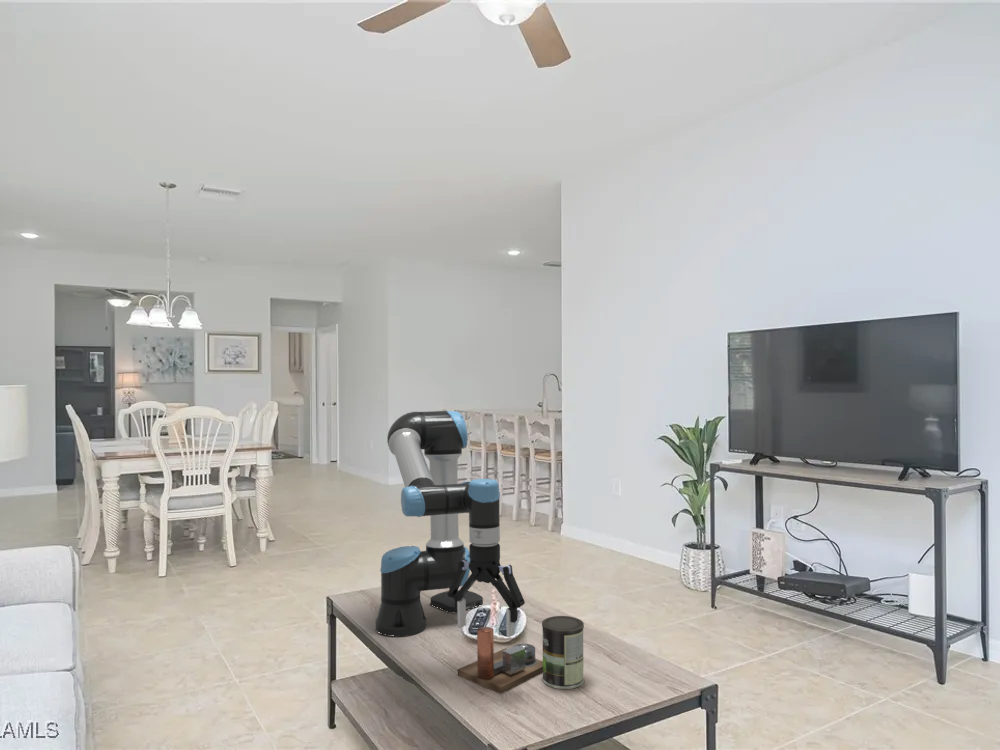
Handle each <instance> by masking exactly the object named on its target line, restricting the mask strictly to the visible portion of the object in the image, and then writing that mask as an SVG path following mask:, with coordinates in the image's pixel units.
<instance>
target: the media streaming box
mask: <svg viewBox="0 0 1000 750" xmlns="http://www.w3.org/2000/svg"><path fill="white" fill-rule="evenodd" d="M459 590H460V589H458V591H459ZM458 591H457V592H458ZM448 592H449V590H446V591H443V592H439V593H436V594H435V595H433V596H431V597H430V606H431V605H433V606H435V607H438V608H441V609H443V610H445V611H448V612H447V613H449V612H455V600H454V599H453V598H452V597H448V595H447V594H448ZM462 599H466V610H467V609H470V610H472V609H471V608H473V607H475V606H479V605H482V604H484V598H483V596H482V595H480V594H478V593H477V592H473V591H470V590H468V591H467V592H466V593H465V595H464V597H463V598H462ZM433 606H432V607H433ZM482 606H483V605H482ZM435 607H434V608H435ZM438 608H437V609H438ZM443 610H442V611H443ZM445 611H444V612H445ZM467 611H468V610H467Z"/></svg>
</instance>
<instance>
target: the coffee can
mask: <svg viewBox="0 0 1000 750" xmlns="http://www.w3.org/2000/svg"><path fill="white" fill-rule="evenodd" d="M584 626H585V623H584V622H583V620H581V619H580V618H577V617H574V616H570V615H569V616H567V615H555V616H550V617H547V618H544V619H543V620H542V621H541V627H542V661H543V673H542V678H541V679H542V682H543V683H544V684H545V686H548V687H550V688H553V689H557V690H573V689H575V688H578V687H581V686H582V685H583V684H584V681H585V679H584Z"/></svg>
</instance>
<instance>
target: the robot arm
mask: <svg viewBox="0 0 1000 750" xmlns="http://www.w3.org/2000/svg"><path fill="white" fill-rule="evenodd" d="M468 437H469V436H468V428H467V424H466V421H465V419H464V416H463V415H462V414H461V412H458V411H456V410H455V411H453V410H439V411H438V410H437V411H436V410H435V411H410V412H407V413H405V414H402V415H401V416H400V417H399V418H397V419H396V420H395V421H394V422H393V423H392V424H391V426H390V428H389V430H388V433H387V441H386V442H387V446H388V449H389V451H390V453H391V454H392V455H393V456H394V457H395V459H396V463H397V466H398V469H399V473H400V475H401V479H402V482H403V485H404V487H403V488H402V489H401V492H400V495H401V496H400V505H401V511H402V514H403V515H404V516H405V517H416V518H420V517H421V518H422V517H428V516H430V538H429V540H428V541H427V542H426V543H425V550H421V549H420V547H419V546H416V545H411V546H409V545H405V546H399V547H396V548H392V549H390V550H388V551H386V552H385V553H384V554H383V555H382V556H381V563H380V578H381V579H380V588H381V589H380V593H381V594H380V597H381V598H380V600H381V601H380V605H379V610H378V613H377V616H376V619H375V628H376V629H375V628H374V629H375V631H376V630H377V631H378V632H380V633H382V634H386V635H394V636H399V637H407V636H406V635H409V636H413V635H417V634H419V633H421V632H423V631H424V630H426V628H427V617H426V615H425V611H424V608H423V604H422V602H421V592H424V591H435V590H445V589H448V591H449V592H448V594H447V595H448V597H452V598H453V599H454V600H455V613H454V614H456V615H457V629H462V628H464V627H465V626H467V622H466V621H467V615H466V614H467V613H466V612H467V611H466V599H462V598H463V597H464V595H465V593H466V592H467V591H470V589H471V588H472V586H473V585H474V583H476V581H477V583H485V584H491V585H492V587H494V588H495V589H496V590H497V592H498V593H499V595H500V597H502V600H504V602H505V604H506V606H508V608H506V610H505V611H506V612H505V613H506V614H505V616H506V617H505V619H506V620H505V621H506V638H510V637H512V636H513V635H514V634H515V623H516V622H517V621H518V609H519V608H521V607H522V606H524V605H525V603H526V601H525V599H524V597H523V594H522V593H521V590H520V587H519V586H518V583H517V581H516V579H515V575H514V573H513V566H512V564H508V565H501V562H500V560H501V545H500V542H501V530H500V529H501V528H500V520H501V519H500V517H501V516H500V512H501V511H500V497H501V493H500V486H499V481H497V480H496V479H492V478H475V479H473V480H470V481H464V482H462V483H458V482H459V481H458V459H459V458H460V457H461V456H462V455H463V453H462V452H463V451H462V450H463V449H465V448H466V447H467V446H468V441H469V439H468ZM423 450H424V453H423ZM426 458H427V460H428V461H429V466H428V464H427V460H426ZM459 514H468V528H469V529H468V531H469V533H468V534H469V538H468V539H469V540H468V541H469V543H470V544H469V548H468V547H466V546H465V545H464V544H465V543H464V541H463V540H462V539H461V538H460V537H459V530H460V529H459ZM470 572H471V574H470ZM500 573H501V574H500ZM501 575H502V576H503V577H502V576H501ZM503 578H504V580H505V582H504V581H503ZM505 583H506V584H505ZM506 585H507V586H506ZM458 590H459V591H458ZM457 591H458V592H457ZM377 631H376V632H377ZM378 632H377V633H378ZM382 634H381V635H382ZM386 635H385V636H386ZM394 636H393V637H394Z"/></svg>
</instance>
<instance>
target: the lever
mask: <svg viewBox="0 0 1000 750" xmlns="http://www.w3.org/2000/svg"><path fill="white" fill-rule="evenodd" d="M494 634H495V633H494V628H492V627H490V626H482V627H478V628H477V629H476V639H477V640H476V643H477V644H476V645H477V646H476V647H477V648H476V649H477V651H476V652H477V653H476V656H477V660H476V661H477V671H478V677H480V678H484V679H487V678H491V677H493V676H494V674H496V673H499V672H501V671H504V672H506V673H508V674H510V675H512V674H514V673H517V672H519V671H521V670H524V669H525V665H527V664H532V663H534V662H535V658H536V647H535V646H534V645H533V644H530V643H518V644H517V643H516V644H514V645H513V646H512V647H509V648H507V649H506V650H503V651H502V661H499V662H497V663H494V653H495V652H494V650H495V649H494V647H495V646H494V645H495V644H494V641H495V640H494Z"/></svg>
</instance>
